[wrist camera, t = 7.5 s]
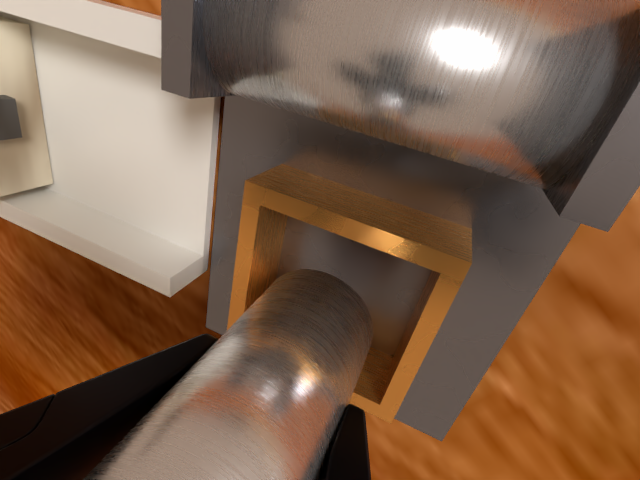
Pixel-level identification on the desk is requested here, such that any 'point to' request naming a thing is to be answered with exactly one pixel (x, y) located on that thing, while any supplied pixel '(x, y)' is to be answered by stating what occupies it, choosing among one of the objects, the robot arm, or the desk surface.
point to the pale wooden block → (20, 113)
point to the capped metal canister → (257, 392)
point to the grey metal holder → (411, 164)
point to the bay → (117, 145)
